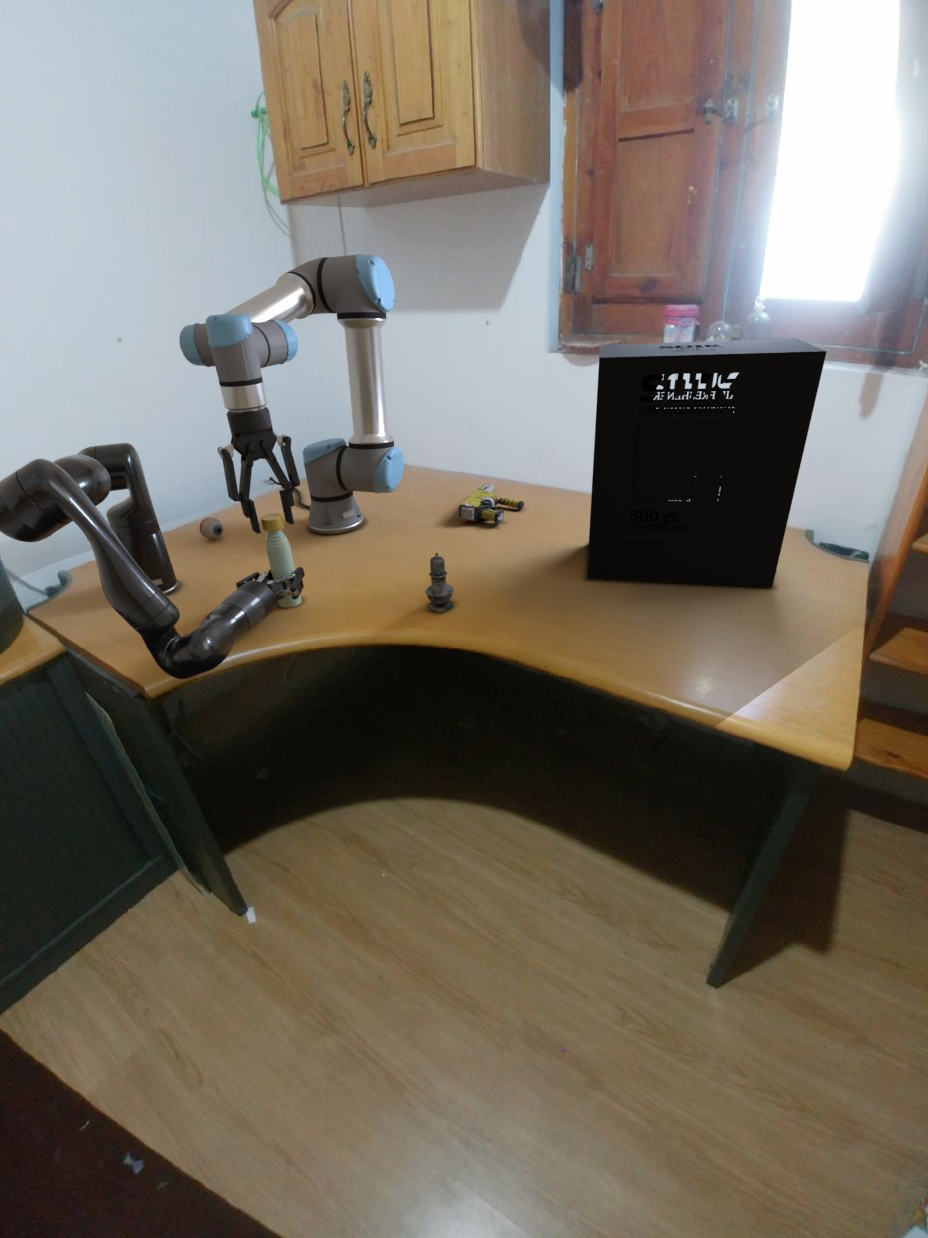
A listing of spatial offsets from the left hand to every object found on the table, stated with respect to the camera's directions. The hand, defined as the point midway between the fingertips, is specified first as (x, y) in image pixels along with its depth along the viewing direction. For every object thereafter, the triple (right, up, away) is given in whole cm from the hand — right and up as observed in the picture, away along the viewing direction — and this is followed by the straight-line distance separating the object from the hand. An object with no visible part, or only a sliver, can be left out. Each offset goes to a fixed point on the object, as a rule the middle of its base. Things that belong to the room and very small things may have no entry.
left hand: (290, 570), depth 129 cm
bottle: (0, -7, +1) cm, 7 cm away
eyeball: (-31, +11, +36) cm, 48 cm away
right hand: (-1, +8, -8) cm, 11 cm away
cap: (-1, +10, -9) cm, 13 cm away
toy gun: (+46, +20, +43) cm, 67 cm away
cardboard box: (+85, +2, +8) cm, 85 cm away
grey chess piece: (+32, -8, -4) cm, 34 cm away
